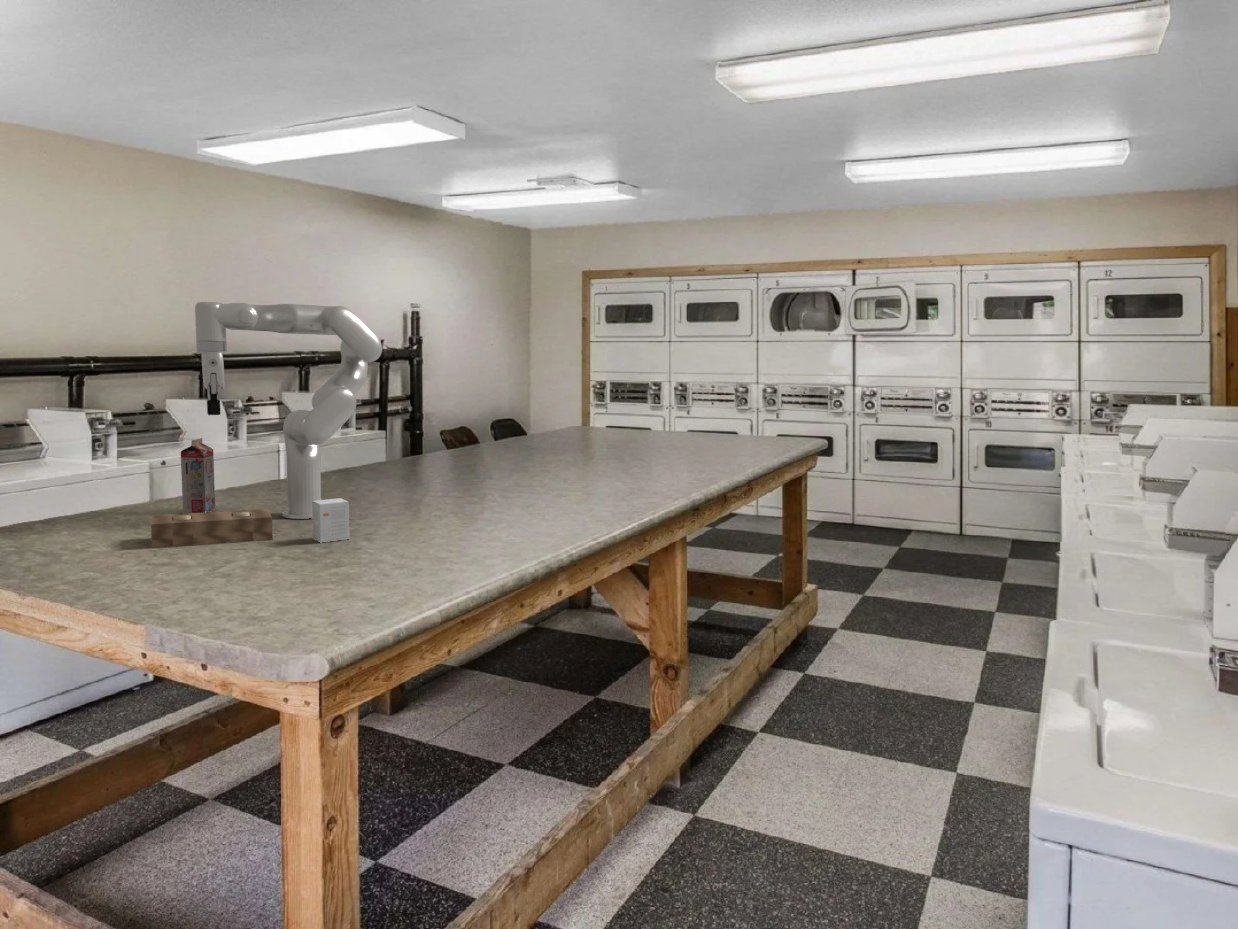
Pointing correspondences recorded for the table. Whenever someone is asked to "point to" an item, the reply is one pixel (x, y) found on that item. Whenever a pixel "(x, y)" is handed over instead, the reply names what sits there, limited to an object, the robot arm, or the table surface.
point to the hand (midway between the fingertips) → (213, 414)
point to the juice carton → (197, 478)
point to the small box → (330, 520)
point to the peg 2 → (240, 514)
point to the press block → (210, 528)
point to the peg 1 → (182, 517)
